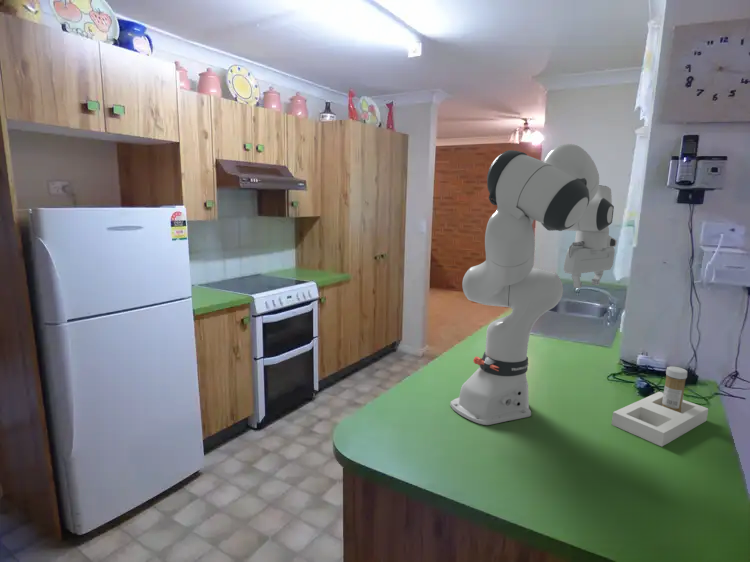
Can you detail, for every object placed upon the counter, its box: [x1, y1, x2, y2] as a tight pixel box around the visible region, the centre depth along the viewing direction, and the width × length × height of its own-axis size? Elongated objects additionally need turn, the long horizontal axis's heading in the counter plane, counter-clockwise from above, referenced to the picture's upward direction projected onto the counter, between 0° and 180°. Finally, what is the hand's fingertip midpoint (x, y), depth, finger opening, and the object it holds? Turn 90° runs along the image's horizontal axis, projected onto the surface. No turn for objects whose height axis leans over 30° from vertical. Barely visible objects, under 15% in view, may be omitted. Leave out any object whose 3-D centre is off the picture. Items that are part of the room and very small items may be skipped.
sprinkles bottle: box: [662, 366, 688, 413], centre depth 117 cm, size 5×5×14 cm
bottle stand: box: [610, 391, 709, 447], centre depth 114 cm, size 24×12×4 cm, turn 123°
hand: (586, 286), depth 133 cm, fingers open, 8 cm apart
